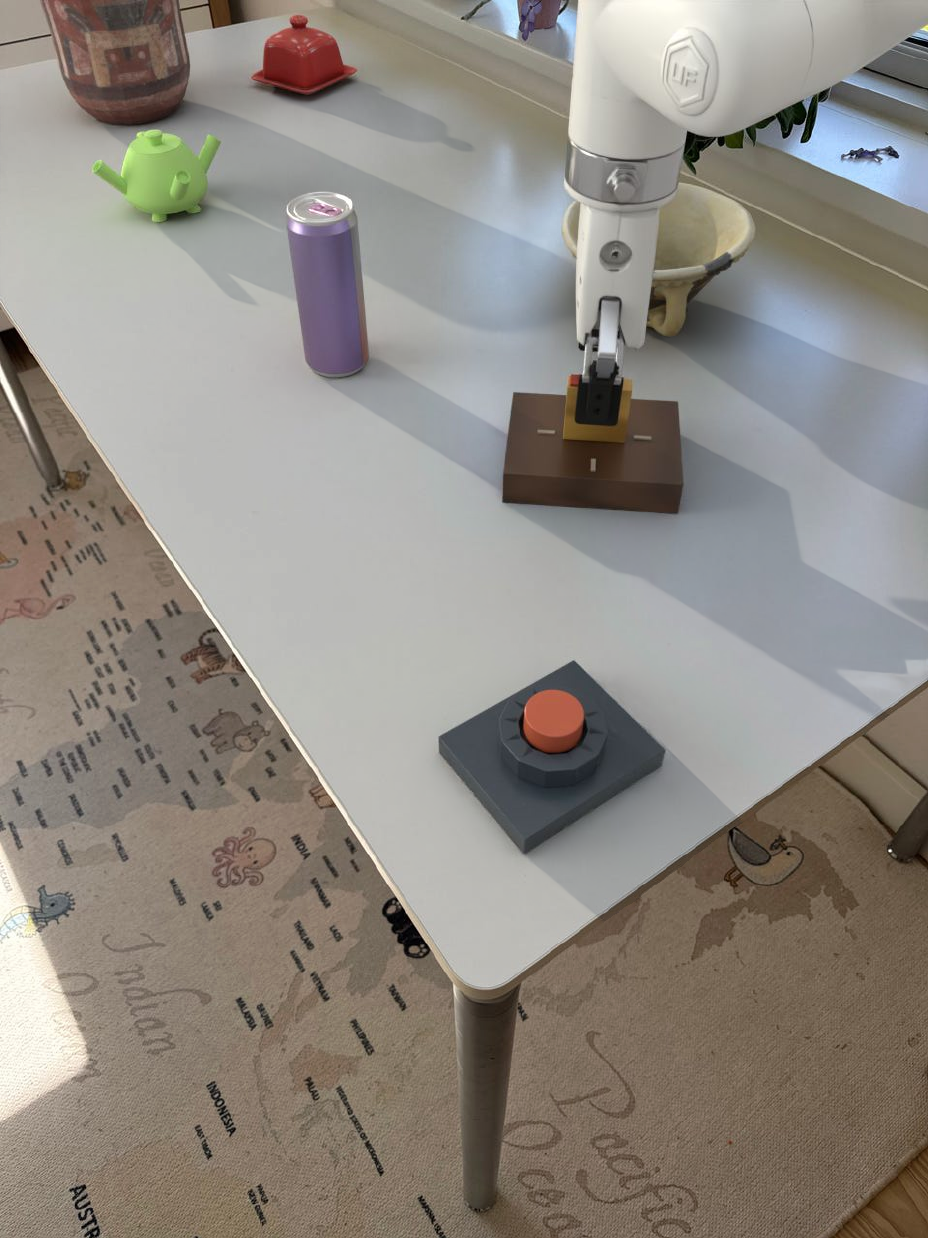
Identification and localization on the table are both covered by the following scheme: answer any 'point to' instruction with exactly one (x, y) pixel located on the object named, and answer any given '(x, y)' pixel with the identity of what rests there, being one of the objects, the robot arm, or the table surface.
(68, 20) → the pottery
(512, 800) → the box
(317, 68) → the butter dish
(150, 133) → the teapot
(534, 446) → the plate
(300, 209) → the beverage can
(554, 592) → the table surface
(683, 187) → the bowl
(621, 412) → the thumbturn
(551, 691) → the release button
